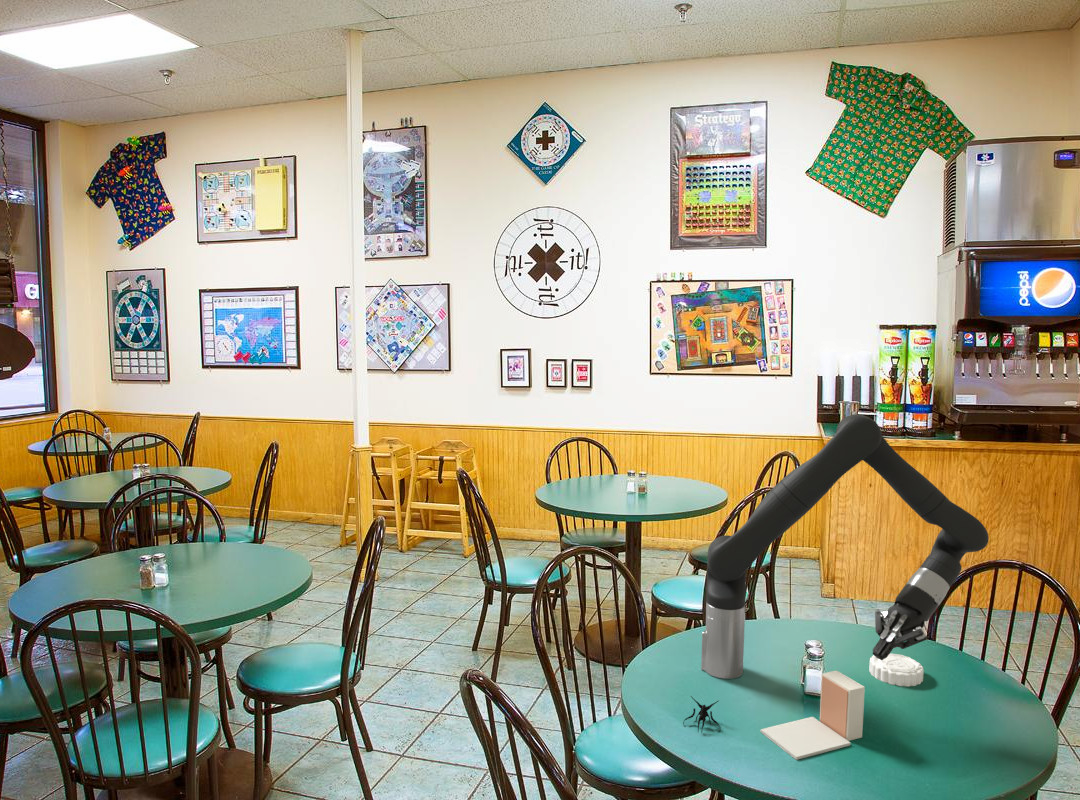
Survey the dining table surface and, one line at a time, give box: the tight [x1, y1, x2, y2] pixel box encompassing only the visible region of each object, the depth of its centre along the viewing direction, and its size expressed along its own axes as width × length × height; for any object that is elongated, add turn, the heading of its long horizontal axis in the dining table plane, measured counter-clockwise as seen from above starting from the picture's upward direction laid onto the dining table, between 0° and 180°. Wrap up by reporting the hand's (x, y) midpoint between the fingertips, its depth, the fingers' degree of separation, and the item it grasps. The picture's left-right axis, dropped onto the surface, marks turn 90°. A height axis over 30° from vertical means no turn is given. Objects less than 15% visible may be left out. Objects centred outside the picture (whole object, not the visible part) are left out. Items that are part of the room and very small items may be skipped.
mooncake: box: [868, 653, 924, 687], centre depth 189 cm, size 12×12×4 cm
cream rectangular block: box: [819, 670, 866, 742], centre depth 163 cm, size 8×4×11 cm, turn 22°
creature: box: [682, 695, 722, 734], centre depth 165 cm, size 8×5×8 cm
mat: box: [760, 716, 851, 761], centre depth 160 cm, size 11×14×1 cm
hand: (877, 656), depth 166 cm, fingers closed
